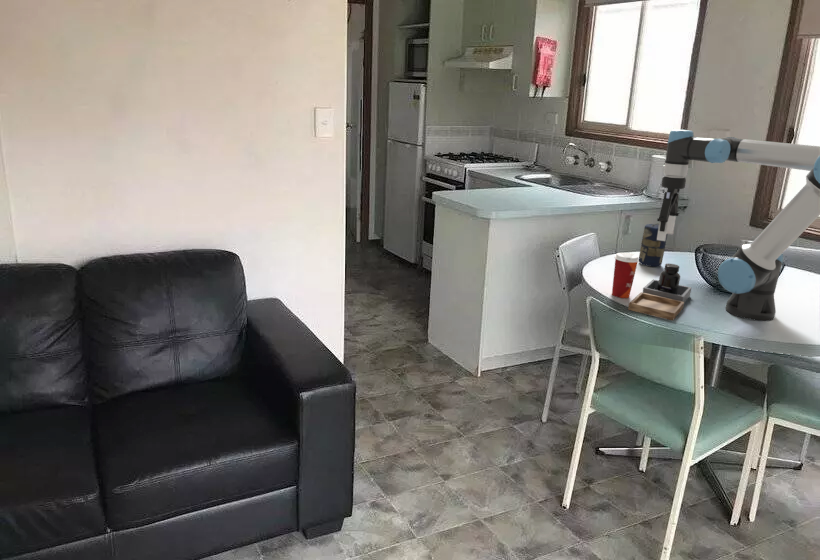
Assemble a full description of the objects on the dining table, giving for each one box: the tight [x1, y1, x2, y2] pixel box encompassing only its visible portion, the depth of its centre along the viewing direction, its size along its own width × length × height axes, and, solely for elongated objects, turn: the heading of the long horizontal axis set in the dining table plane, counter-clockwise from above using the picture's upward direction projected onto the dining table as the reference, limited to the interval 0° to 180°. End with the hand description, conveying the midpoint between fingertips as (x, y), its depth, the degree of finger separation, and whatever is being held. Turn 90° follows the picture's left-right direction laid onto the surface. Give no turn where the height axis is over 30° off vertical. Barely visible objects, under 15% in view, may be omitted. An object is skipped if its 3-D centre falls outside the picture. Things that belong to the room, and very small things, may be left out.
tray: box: [627, 291, 685, 321], centre depth 216 cm, size 15×15×2 cm
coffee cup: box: [611, 252, 639, 299], centre depth 226 cm, size 8×8×15 cm
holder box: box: [642, 279, 692, 304], centre depth 229 cm, size 14×14×4 cm
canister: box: [638, 223, 669, 268], centre depth 267 cm, size 10×10×18 cm
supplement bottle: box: [657, 263, 681, 295], centre depth 228 cm, size 7×7×12 cm
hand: (665, 237), depth 223 cm, fingers open, 13 cm apart
